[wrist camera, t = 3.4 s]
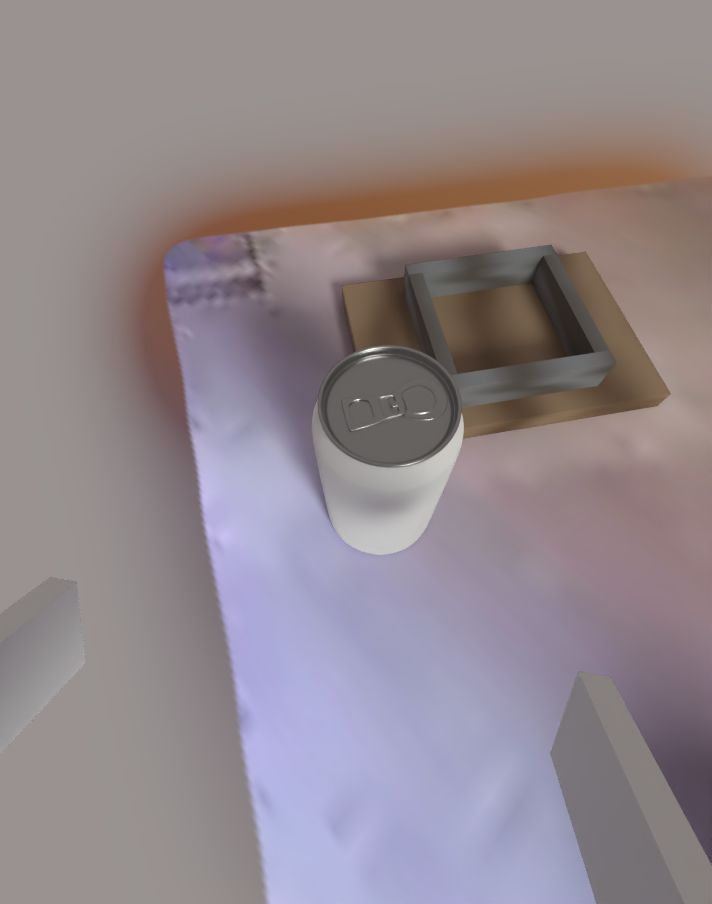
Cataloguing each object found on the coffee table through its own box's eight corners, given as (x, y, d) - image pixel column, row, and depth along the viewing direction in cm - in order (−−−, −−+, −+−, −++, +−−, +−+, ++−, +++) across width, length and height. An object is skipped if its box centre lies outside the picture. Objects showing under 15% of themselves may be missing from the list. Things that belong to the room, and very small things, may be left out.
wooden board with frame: (577, 266, 37) (600, 223, 34) (657, 405, 31) (696, 370, 27) (342, 300, 36) (340, 258, 32) (376, 452, 30) (378, 422, 26)
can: (444, 542, 27) (499, 455, 16) (340, 568, 26) (325, 496, 15) (412, 450, 30) (441, 323, 19) (318, 471, 29) (292, 353, 18)
